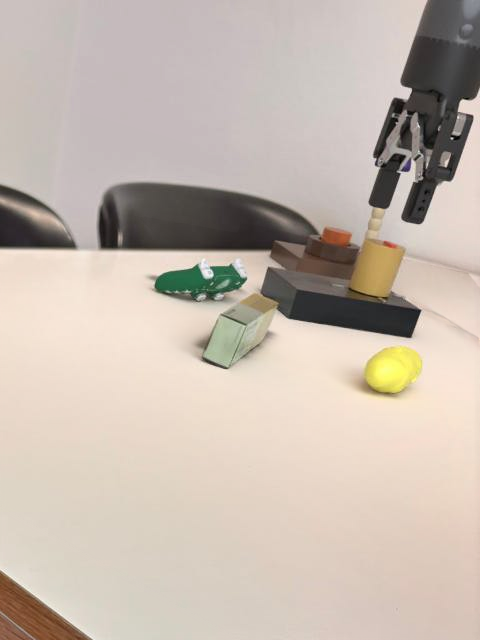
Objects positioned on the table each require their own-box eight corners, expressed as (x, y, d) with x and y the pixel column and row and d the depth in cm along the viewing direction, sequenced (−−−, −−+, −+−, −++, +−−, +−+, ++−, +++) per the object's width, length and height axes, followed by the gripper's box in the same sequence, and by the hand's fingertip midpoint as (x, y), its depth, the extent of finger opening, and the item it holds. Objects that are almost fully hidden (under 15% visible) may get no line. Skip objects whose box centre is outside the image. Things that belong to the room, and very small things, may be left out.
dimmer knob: (342, 283, 117) (359, 233, 114) (379, 289, 118) (396, 239, 115) (357, 293, 113) (375, 242, 111) (395, 299, 114) (414, 248, 111)
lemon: (425, 393, 95) (442, 350, 93) (386, 404, 89) (403, 358, 87) (382, 377, 97) (398, 334, 95) (342, 387, 91) (358, 342, 89)
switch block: (352, 271, 143) (363, 240, 141) (382, 290, 135) (393, 258, 133) (269, 257, 141) (278, 225, 139) (293, 275, 133) (304, 242, 131)
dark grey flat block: (377, 312, 122) (387, 284, 120) (414, 338, 114) (425, 308, 112) (259, 293, 120) (268, 264, 118) (288, 318, 111) (298, 287, 110)
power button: (341, 243, 138) (346, 229, 137) (352, 250, 135) (356, 235, 134) (315, 239, 138) (320, 225, 137) (325, 245, 134) (330, 231, 134)
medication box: (228, 370, 90) (247, 325, 88) (199, 358, 90) (217, 313, 88) (263, 342, 99) (280, 300, 97) (236, 331, 100) (253, 289, 98)
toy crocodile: (161, 313, 111) (203, 285, 106) (149, 279, 111) (190, 249, 106) (217, 311, 116) (259, 284, 112) (206, 278, 117) (247, 250, 112)
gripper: (527, 52, 98) (457, 235, 106) (456, 43, 110) (398, 208, 118) (453, 35, 97) (388, 222, 105) (390, 28, 109) (335, 196, 117)
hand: (393, 214), depth 111 cm, fingers open, 8 cm apart
